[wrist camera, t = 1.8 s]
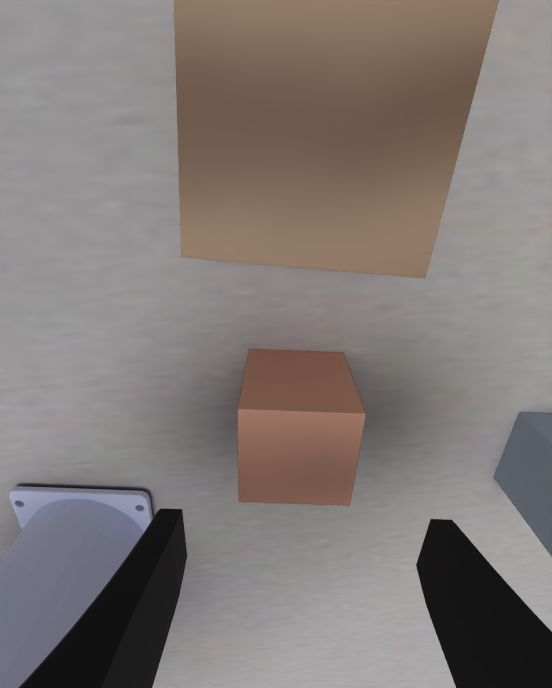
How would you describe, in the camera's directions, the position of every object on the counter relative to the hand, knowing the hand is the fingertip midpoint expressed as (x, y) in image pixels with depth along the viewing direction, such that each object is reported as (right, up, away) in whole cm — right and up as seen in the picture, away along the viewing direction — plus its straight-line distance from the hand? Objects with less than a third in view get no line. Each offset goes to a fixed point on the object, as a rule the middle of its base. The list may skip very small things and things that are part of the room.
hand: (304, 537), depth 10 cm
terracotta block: (0, +3, +7) cm, 8 cm away
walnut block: (0, +13, +3) cm, 14 cm away
